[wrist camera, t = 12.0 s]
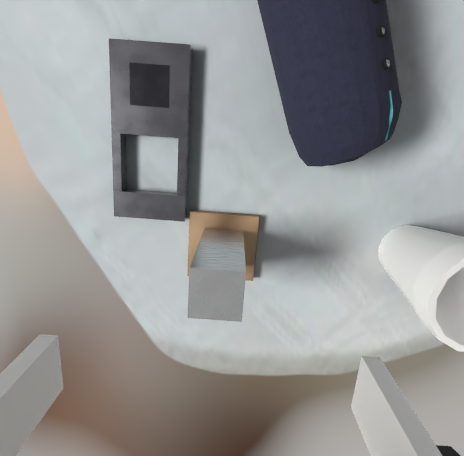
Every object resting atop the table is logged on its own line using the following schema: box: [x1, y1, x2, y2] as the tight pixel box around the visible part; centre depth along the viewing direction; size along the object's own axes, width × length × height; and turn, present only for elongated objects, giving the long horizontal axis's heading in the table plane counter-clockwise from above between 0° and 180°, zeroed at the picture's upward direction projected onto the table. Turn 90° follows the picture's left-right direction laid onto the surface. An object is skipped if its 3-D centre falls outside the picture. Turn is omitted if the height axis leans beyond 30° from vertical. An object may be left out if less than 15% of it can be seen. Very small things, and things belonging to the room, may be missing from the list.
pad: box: [188, 210, 259, 281], centre depth 38 cm, size 8×8×1 cm
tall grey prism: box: [188, 228, 246, 322], centre depth 31 cm, size 4×4×12 cm
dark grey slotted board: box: [109, 39, 192, 221], centre depth 34 cm, size 8×18×2 cm, turn 176°
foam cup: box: [379, 225, 464, 352], centre depth 32 cm, size 10×9×13 cm
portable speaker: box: [258, 0, 402, 166], centre depth 27 cm, size 25×10×10 cm, turn 17°
